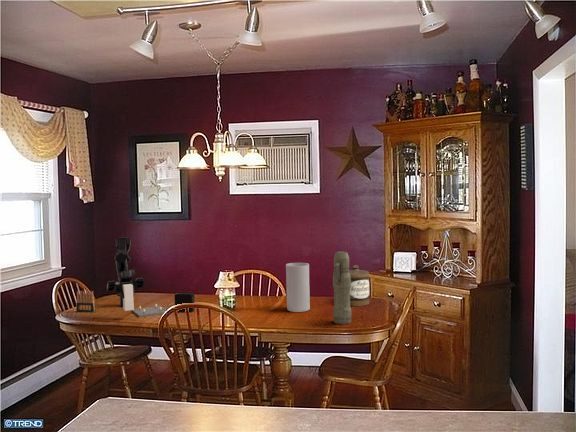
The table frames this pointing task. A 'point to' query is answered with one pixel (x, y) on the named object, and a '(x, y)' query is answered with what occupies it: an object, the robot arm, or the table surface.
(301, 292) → the cylinder vase
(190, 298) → the electronic device
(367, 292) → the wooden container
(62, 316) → the table surface
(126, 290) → the cream block
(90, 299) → the ammunition clip
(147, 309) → the mount plate
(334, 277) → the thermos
